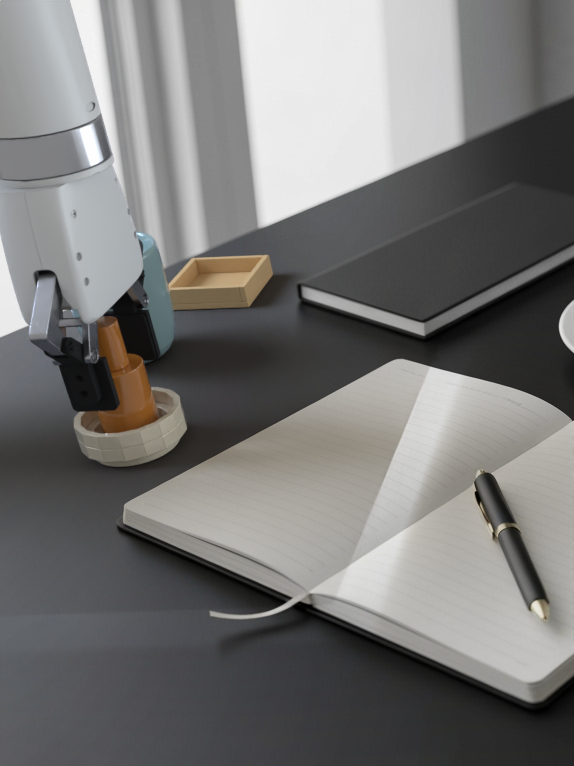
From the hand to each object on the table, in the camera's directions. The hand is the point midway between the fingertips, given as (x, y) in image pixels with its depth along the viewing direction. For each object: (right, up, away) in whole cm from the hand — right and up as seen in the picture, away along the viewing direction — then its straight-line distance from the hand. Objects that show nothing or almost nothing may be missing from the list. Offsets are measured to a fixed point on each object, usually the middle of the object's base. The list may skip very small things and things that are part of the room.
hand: (118, 381), depth 93 cm
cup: (-6, +2, +16) cm, 17 cm away
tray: (-3, +8, +27) cm, 29 cm away
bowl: (0, -5, +3) cm, 5 cm away
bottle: (0, -4, +2) cm, 5 cm away
